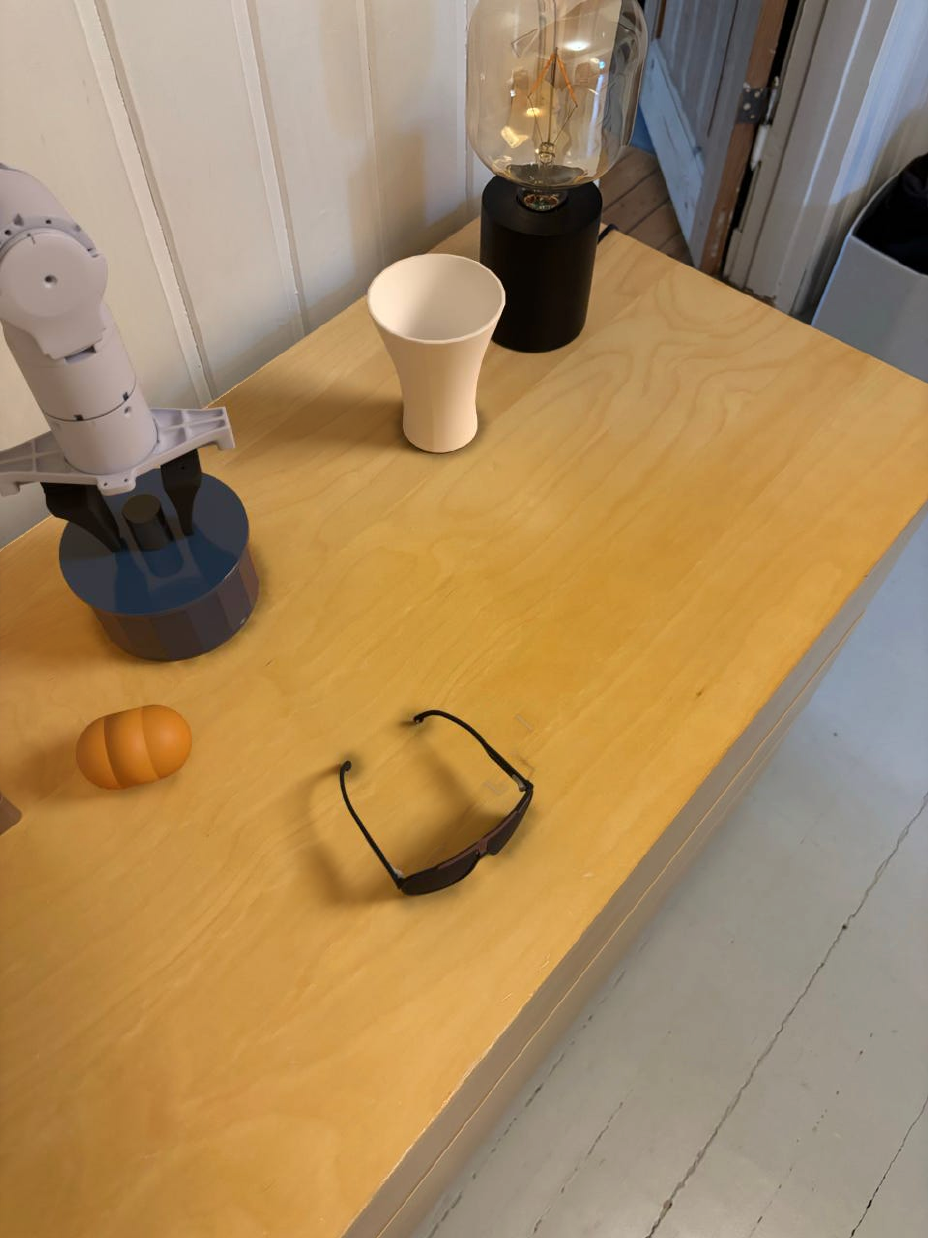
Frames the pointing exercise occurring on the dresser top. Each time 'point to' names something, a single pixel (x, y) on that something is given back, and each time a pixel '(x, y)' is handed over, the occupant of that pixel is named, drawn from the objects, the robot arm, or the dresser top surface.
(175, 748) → the orange banded oval part
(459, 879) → the sunglasses
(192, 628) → the pot
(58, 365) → the robot arm
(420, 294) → the cup
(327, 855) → the dresser top surface
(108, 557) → the lid
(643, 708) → the dresser top surface
